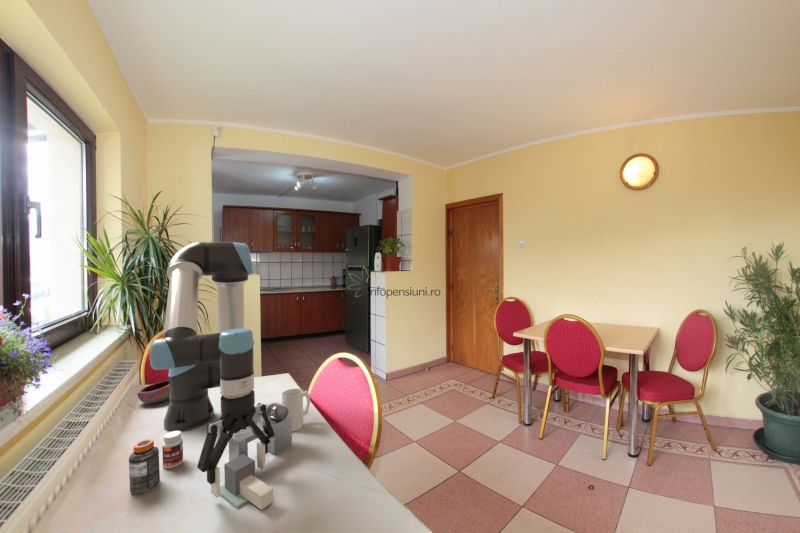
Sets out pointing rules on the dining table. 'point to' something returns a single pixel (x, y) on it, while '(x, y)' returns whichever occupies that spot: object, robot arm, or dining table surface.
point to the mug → (295, 406)
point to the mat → (232, 497)
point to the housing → (277, 443)
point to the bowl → (155, 392)
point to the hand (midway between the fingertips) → (239, 480)
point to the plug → (247, 482)
